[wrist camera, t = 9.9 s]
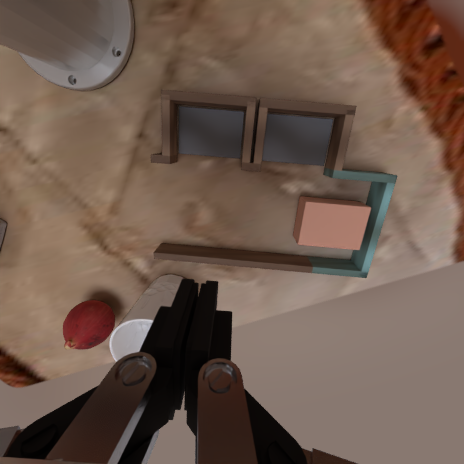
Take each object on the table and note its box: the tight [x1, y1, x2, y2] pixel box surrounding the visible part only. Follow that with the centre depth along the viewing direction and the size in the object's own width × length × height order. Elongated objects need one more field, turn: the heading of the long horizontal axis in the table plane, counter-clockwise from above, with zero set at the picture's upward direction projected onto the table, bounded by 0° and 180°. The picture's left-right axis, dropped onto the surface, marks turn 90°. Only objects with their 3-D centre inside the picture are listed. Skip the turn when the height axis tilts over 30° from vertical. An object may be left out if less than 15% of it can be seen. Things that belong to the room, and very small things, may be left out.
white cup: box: [109, 274, 184, 362], centre depth 30 cm, size 8×8×10 cm
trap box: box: [151, 90, 397, 278], centre depth 28 cm, size 18×26×3 cm
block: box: [293, 196, 371, 250], centre depth 29 cm, size 5×7×3 cm
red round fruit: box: [63, 300, 115, 349], centre depth 32 cm, size 6×6×8 cm
